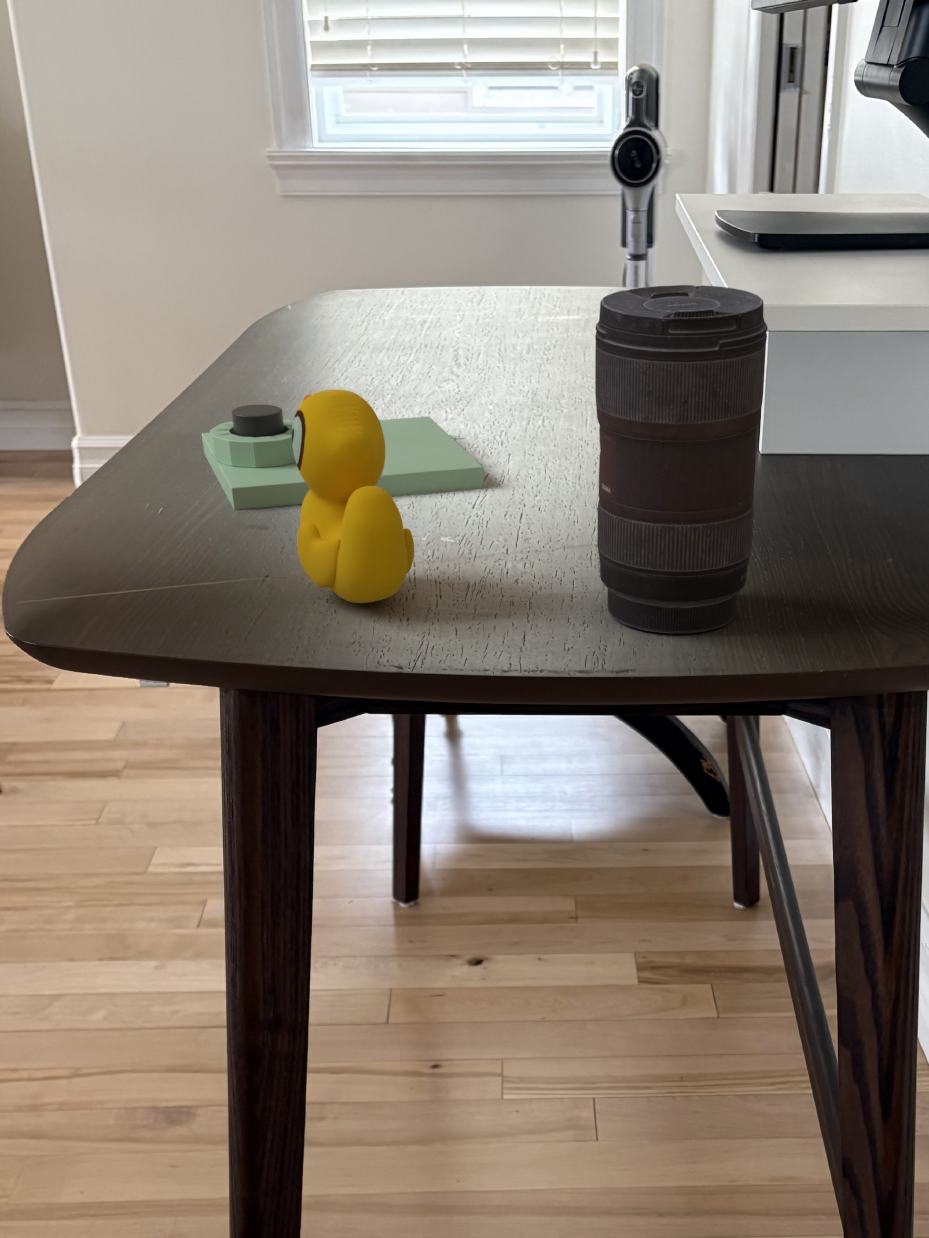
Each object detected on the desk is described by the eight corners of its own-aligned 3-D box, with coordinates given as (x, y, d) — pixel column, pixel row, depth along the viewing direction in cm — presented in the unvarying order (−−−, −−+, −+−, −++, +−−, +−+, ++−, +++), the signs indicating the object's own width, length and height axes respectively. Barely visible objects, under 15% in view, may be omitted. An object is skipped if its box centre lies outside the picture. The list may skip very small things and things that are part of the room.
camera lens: (572, 596, 81) (572, 287, 72) (711, 580, 83) (727, 279, 75) (624, 648, 75) (631, 318, 66) (773, 630, 77) (799, 308, 68)
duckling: (277, 567, 85) (255, 376, 79) (369, 555, 86) (354, 367, 81) (337, 633, 76) (317, 425, 70) (437, 619, 78) (426, 414, 72)
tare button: (238, 443, 96) (235, 417, 95) (231, 431, 99) (228, 406, 98) (288, 439, 97) (286, 414, 96) (280, 427, 99) (277, 402, 99)
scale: (233, 511, 93) (227, 460, 91) (203, 454, 104) (197, 408, 102) (484, 489, 97) (482, 440, 96) (430, 437, 108) (428, 392, 106)
